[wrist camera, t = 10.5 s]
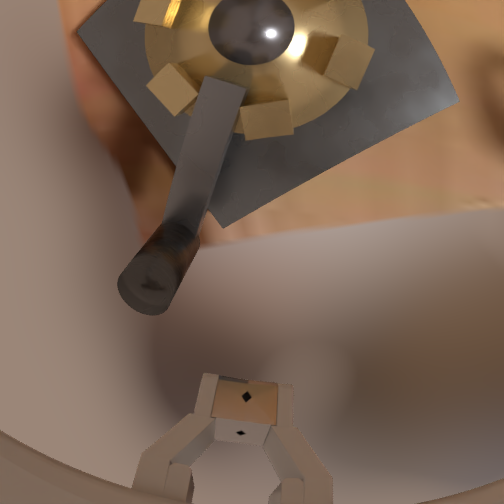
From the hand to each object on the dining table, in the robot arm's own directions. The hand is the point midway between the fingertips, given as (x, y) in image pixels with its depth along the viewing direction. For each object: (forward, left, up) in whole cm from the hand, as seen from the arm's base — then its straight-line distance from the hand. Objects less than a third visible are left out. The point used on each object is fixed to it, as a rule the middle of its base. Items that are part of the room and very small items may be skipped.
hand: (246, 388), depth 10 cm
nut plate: (-10, +6, -15) cm, 19 cm away
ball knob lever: (-8, +3, -12) cm, 15 cm away
